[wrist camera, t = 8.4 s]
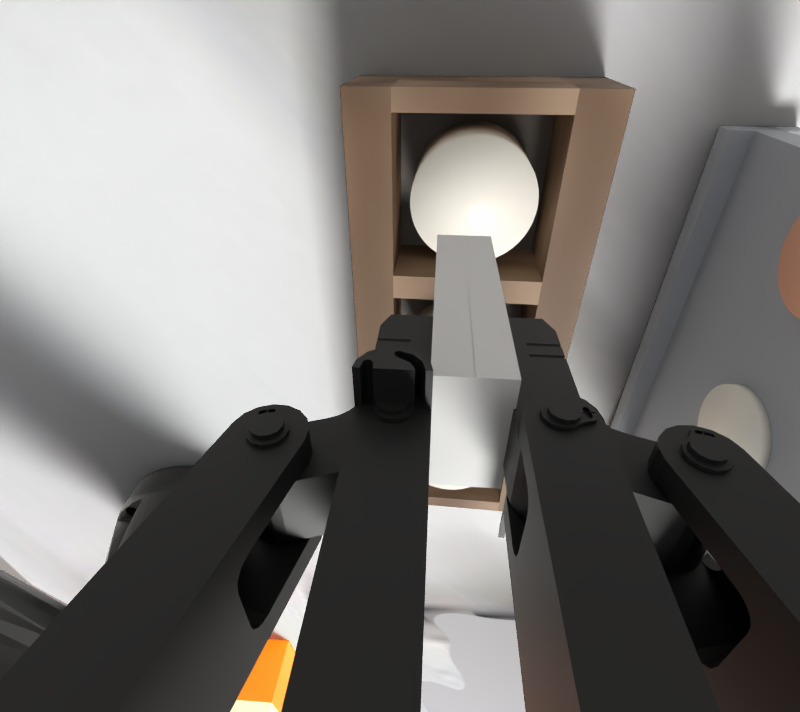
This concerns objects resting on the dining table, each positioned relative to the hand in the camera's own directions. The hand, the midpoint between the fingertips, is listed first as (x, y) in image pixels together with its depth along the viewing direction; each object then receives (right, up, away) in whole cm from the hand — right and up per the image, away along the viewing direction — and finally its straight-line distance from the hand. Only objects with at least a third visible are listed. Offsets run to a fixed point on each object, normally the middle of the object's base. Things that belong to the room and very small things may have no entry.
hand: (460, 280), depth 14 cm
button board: (+2, 0, +12) cm, 12 cm away
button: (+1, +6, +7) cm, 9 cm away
